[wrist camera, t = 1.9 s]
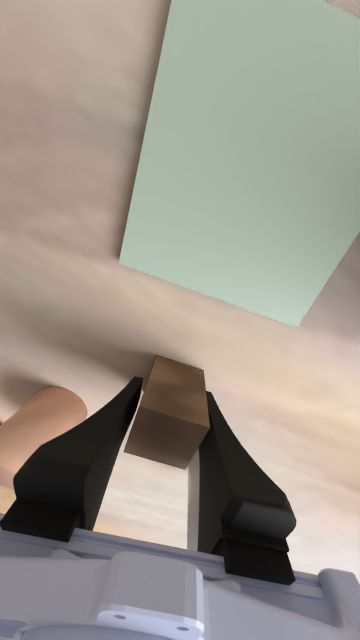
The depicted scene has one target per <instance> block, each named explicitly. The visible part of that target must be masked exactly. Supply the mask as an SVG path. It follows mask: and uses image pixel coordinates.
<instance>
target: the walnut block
mask: <svg viewBox="0 0 360 640" xmlns="http://www.w3.org/2000/svg"><path fill="white" fill-rule="evenodd" d="M209 429H210V423H209V415H208V406H207V397H206V388H205V379H204V370H201V369H198V368H195V367H192V366H189V365H186V364H183V363H180V362H177V361H174V360H171V359H168V358H165V357H162V356H159V355H157V356H156V359H155V362H154V365H153V368H152V371H151V373H150V376H149V379H148V382H147V385H146V388H145V391H144V394H143V397H142V400H141V402H140V405H139V408H138V411H137V414H136V417H135V420H134V423H133V426H132V429H131V431H130V434H129V437H128V440H127V443H126V446H125V449H124V452H125V453H129V454H132V455H136V456H139V457H143V458H146V459H150V460H153V461H157V462H160V463H164V464H167V465H171V466H174V467H178V468H181V469H184V470H185V469H186V467H187V466H188V464H189V462H190V461H191V459H192V457H193V456H194V454H195V452H196V451H197V449H198V447H199V445H200V444H201V442H202V440H203V439H204V437H205V435H206V434H207V432H208V430H209Z"/></svg>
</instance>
